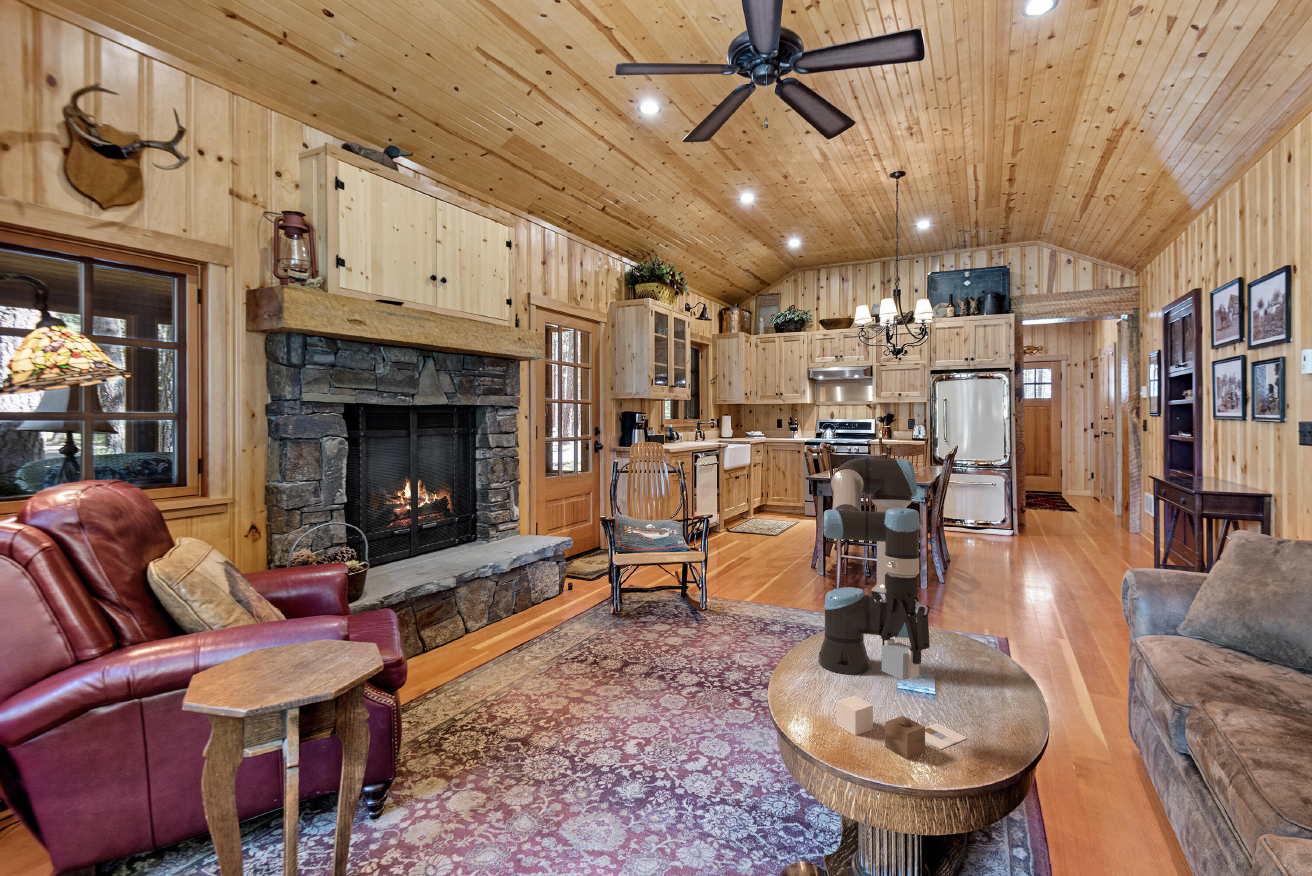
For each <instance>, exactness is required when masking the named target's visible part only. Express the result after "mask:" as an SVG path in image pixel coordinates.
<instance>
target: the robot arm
mask: <svg viewBox="0 0 1312 876" xmlns="http://www.w3.org/2000/svg"><path fill="white" fill-rule="evenodd" d="M916 477H917V476H916V472H915V468H914V464H913V462H912V461H911V460H909V459H905V458H896V457H894V458H891V457H889V458H887V457H886V458H884V457H883V458H879V457H876V458H874V457H873V458H870V457H869V458H868V457H867V458H866V457H859V458H854V459H850V460H848V461H846V462H844V463H843V464H841V465H840V466H839V467H838V468H837V469H835V471H834V472H833V474H832V475H831V482H830V486H831V489H832V492H833V501H832V509H827V510H826V509H825V511H824V512H823V535H824V537H825V538H827V539H835V540H838V541H839V540H846V541H847V540H848V541H869V542H876V584H875V586H873V587H872V588H871V594H870V595H869V594H866V593H865V591H864V590H863V589H862V588H856V587H852V586H851V587H849V586H848V587H837V588H833V589H831V590H829V591H828V592H827V593H826V594H825V596H824V597H825V598H824V605H823V608H824V638H823V642H822V644H821V648H820V651H819V653H818V663H819V665H820V666H821V667H822V668H824V669H826V670H828V671H831V672H834V673H839V674H844V675H845V674H846V675H858V674H863V673H866V672H868V671H869V670H870V668H871V667H870V663H871V662H870V658H869V656H868V653H867V649H866V646H865V642H864V641H865V640H864V638H865V637H864V636H865V635H872V636H879V637H880V639H882V641H881V642H882V645H881V647H882V646H884V645H889V644H894V643H896V642H895V641H896V639H898V638H901V639H907V638H908V639H909V643H910V646H911V648H909V649H908V677H909V679H913V678H917V677H920V676H919V664H920V665H921V663H922V651H924V650H928V649H930V629H929V628H930V627H929V613H930V610H931V608H930V605H928V604H925V605H924V604H922V603H921V602H920V600H919V598H918V594H919V591H920V577H919V576H918V575H919V574H920V553H919V552H920V527H921V523H920V513H919V511H918V510H916V509H912V508H907V507H908V506H910V505H911V503H912V502H913V501H912V498H914V497H917V494H918V486H917V479H916ZM861 495H862V496H863V495H865V496H871V502H872V503H873V504H874V505H875V506H876V511H866V510H862V503H861V501H862V500H861ZM894 638H895V639H894Z"/></svg>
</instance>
